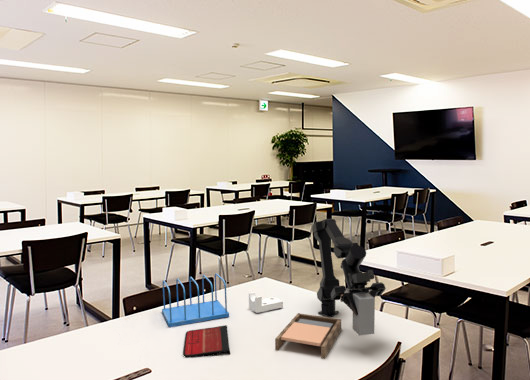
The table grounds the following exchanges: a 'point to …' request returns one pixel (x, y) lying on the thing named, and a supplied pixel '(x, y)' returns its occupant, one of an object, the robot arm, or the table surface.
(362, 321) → the stone block
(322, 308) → the robot arm
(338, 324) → the flap frame
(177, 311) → the file sorter
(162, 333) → the table surface
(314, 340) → the flap
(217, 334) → the binder
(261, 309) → the bracket
